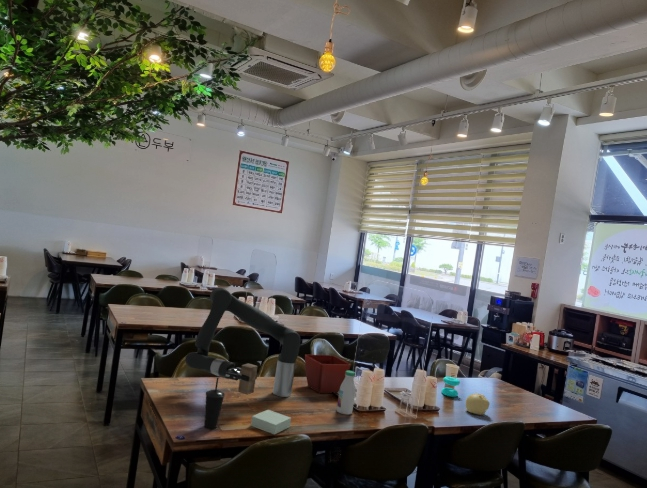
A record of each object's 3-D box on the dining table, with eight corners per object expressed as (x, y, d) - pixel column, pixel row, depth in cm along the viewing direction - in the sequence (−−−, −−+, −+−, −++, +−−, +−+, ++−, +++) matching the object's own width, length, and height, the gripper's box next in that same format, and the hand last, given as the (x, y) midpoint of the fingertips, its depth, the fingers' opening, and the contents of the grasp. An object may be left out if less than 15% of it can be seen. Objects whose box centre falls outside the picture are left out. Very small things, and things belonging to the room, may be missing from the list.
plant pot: (328, 383, 292) (333, 354, 292) (346, 395, 276) (351, 364, 276) (299, 384, 282) (304, 354, 282) (316, 396, 266) (321, 364, 266)
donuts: (449, 380, 302) (440, 375, 311) (446, 397, 302) (437, 391, 311) (463, 381, 305) (454, 376, 314) (461, 398, 305) (451, 392, 315)
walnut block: (244, 389, 230) (248, 363, 230) (253, 392, 228) (257, 366, 228) (238, 391, 226) (241, 365, 226) (247, 394, 224) (250, 367, 223)
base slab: (266, 418, 223) (268, 409, 223) (289, 427, 218) (291, 417, 218) (250, 425, 213) (252, 416, 212) (274, 434, 207) (275, 424, 207)
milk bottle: (353, 411, 250) (360, 371, 250) (349, 416, 243) (355, 375, 242) (339, 407, 252) (345, 368, 252) (334, 412, 245) (340, 371, 245)
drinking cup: (202, 422, 208) (209, 374, 208) (220, 424, 209) (228, 376, 209) (199, 429, 201) (206, 379, 200) (218, 431, 201) (226, 382, 201)
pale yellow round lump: (490, 417, 275) (493, 398, 275) (470, 415, 273) (473, 396, 273) (480, 410, 286) (483, 391, 286) (460, 408, 284) (463, 389, 284)
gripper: (213, 363, 227) (244, 372, 219) (233, 358, 240) (263, 367, 232) (211, 379, 227) (242, 389, 219) (231, 373, 240) (261, 383, 232)
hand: (252, 378), depth 226 cm, fingers closed on walnut block, 5 cm apart
